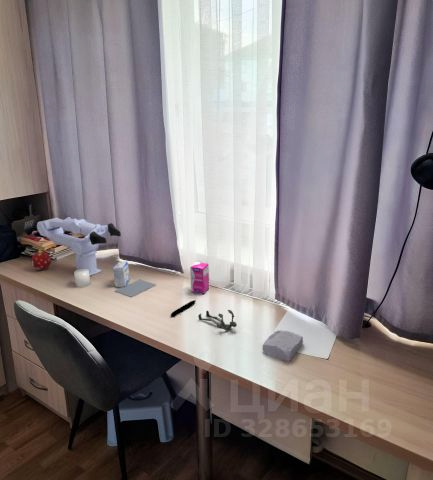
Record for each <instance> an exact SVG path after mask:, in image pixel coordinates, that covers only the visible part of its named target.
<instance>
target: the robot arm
mask: <svg viewBox="0 0 433 480" xmlns="http://www.w3.org/2000/svg"><path fill="white" fill-rule="evenodd" d="M36 229H37V232H38V233H39V234H40V236H43V237H44V238H45V237H46V238H47V239H48V240H50V241H51V242H52V243H54V244H57V245H60V246H62V247H66V248H70V249H71V251H72V253H74V254H75V258H74V259H75V260H74V262H75V267H76V270H79V269H88V270H89V277H90V276H91V277H92V276H93V275H96V274H98V273H100V272H102V269H99V268H98V265H97V264H98V263H97V256H96V254H97V252H98V250H99V244H107V238H106V236H107V235H108V234H109V235H110V237H112V236H113V237H115V236H116V237H121V236H122V235H121V231H120V230H119V229H117V227H116V226H115V225H114V223H112V222H110V223H107V225H101V224H100V223H97V224H95V223H91V222H88V220H87V219H85V218H80V219H77V218H71V217H69V216H68V217H66V218H65V219H62V218H59V217H54V218H50V219H47V220H46V219H45V220H42V221H38V222H37V224H36ZM64 231H66V232H72V233H73V234H74V235H78V234H81V235H82V236H83V235H84V238H79V237H77V236H73V235H69V234H67V233H66V234H65V232H64Z"/></svg>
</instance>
